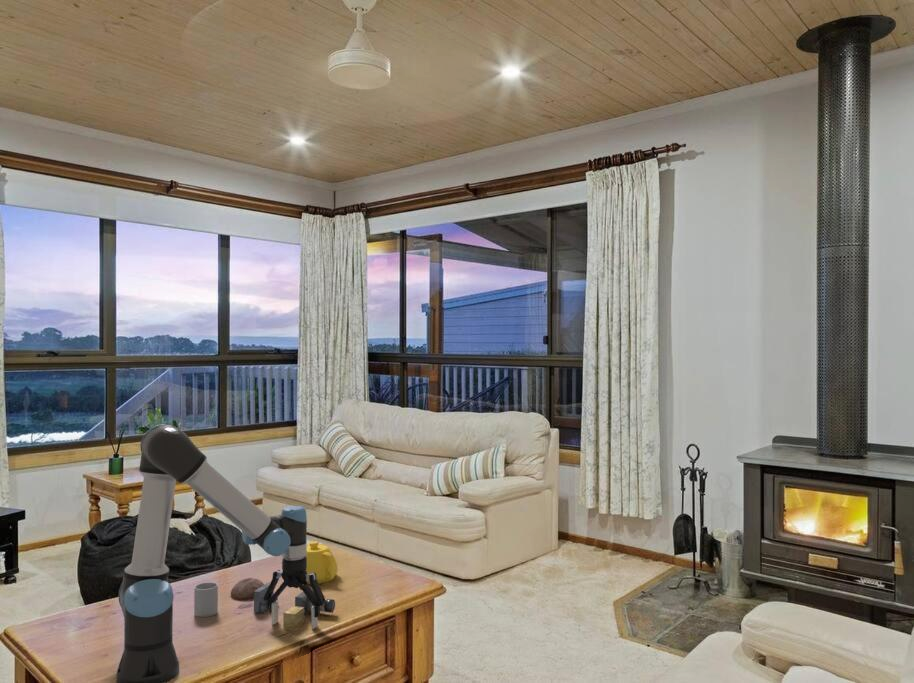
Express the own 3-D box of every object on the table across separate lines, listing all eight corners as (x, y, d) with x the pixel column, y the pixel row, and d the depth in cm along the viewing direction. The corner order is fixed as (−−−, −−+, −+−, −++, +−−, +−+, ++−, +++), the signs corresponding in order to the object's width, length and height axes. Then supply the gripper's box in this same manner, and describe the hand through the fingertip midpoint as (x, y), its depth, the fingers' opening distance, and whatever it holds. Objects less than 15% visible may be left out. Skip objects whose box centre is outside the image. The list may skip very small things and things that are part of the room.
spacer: (304, 623, 217) (304, 607, 217) (295, 630, 211) (295, 614, 211) (292, 622, 218) (292, 606, 218) (283, 629, 212) (283, 612, 212)
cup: (197, 619, 220) (197, 591, 220) (189, 609, 228) (189, 582, 228) (220, 614, 224) (220, 586, 225) (211, 605, 232) (211, 578, 233)
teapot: (272, 577, 262) (272, 541, 263) (309, 565, 276) (309, 531, 276) (314, 591, 247) (315, 552, 247) (351, 578, 260) (351, 542, 261)
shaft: (335, 610, 225) (335, 597, 225) (329, 614, 221) (330, 602, 221) (302, 606, 228) (302, 594, 228) (296, 611, 224) (296, 598, 225)
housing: (315, 607, 230) (315, 586, 230) (302, 618, 221) (302, 596, 221) (268, 602, 235) (268, 582, 235) (253, 612, 225) (253, 591, 226)
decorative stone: (224, 599, 239) (224, 583, 239) (242, 588, 250) (242, 572, 250) (255, 602, 236) (255, 585, 236) (271, 590, 248) (271, 574, 248)
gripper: (336, 556, 216) (336, 624, 215) (265, 550, 222) (265, 616, 222) (325, 563, 208) (326, 633, 208) (252, 557, 215) (252, 625, 214)
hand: (294, 625), depth 215 cm, fingers open, 13 cm apart
